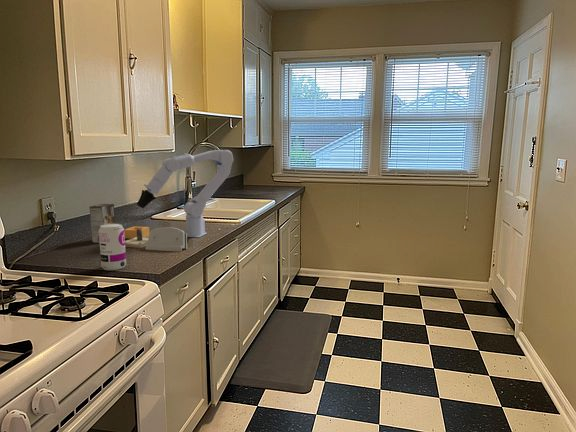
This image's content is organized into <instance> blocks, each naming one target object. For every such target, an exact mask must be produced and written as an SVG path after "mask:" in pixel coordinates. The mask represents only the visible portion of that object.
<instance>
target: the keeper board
mask: <svg viewBox="0 0 576 432" xmlns="http://www.w3.org/2000/svg"><path fill="white" fill-rule="evenodd" d="M148 239H149V236H147V237H142V229H137V237H135V238H133V239H127V240H125V248H133V249H134V248H135V249H136V248H137V249H138V248H140V249H142V248H146V245H147V243H148Z"/></svg>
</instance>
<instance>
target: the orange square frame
mask: <svg viewBox="0 0 576 432" xmlns="http://www.w3.org/2000/svg"><path fill="white" fill-rule="evenodd" d="M137 229H142V237H149V235H150V227H149V226H131V227H128V228H126V229H125V228H124V236H125V239H128V240H130V239H133V238H135V237H137Z"/></svg>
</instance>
